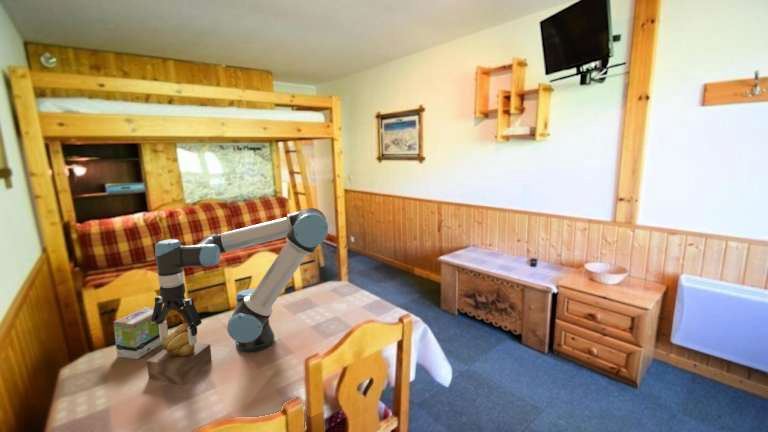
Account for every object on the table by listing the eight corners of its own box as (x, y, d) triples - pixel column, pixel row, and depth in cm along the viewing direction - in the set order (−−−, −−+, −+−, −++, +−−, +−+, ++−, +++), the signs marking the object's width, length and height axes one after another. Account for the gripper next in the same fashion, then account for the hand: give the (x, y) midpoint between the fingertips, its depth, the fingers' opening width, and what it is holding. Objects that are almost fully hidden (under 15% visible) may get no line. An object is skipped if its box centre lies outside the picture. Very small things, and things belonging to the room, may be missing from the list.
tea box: (138, 360, 131) (133, 324, 129) (116, 357, 133) (111, 321, 131) (169, 339, 146) (166, 307, 143) (150, 337, 148) (145, 305, 145)
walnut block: (211, 361, 131) (210, 344, 129) (183, 384, 117) (180, 366, 116) (180, 356, 133) (178, 339, 132) (148, 379, 120) (146, 360, 119)
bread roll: (200, 352, 123) (198, 332, 121) (169, 364, 116) (167, 342, 115) (190, 339, 132) (188, 319, 131) (161, 349, 125) (158, 328, 124)
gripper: (209, 282, 121) (214, 339, 124) (152, 277, 126) (159, 332, 129) (193, 291, 113) (199, 351, 117) (134, 285, 118) (141, 343, 122)
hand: (178, 341), depth 123 cm, fingers closed on bread roll, 11 cm apart
